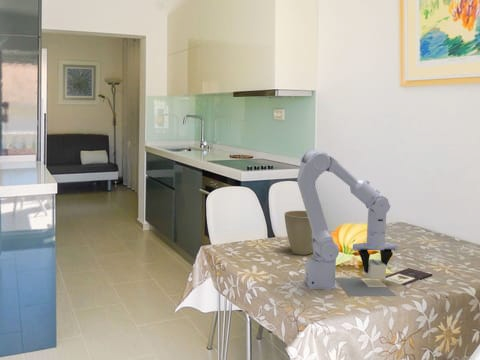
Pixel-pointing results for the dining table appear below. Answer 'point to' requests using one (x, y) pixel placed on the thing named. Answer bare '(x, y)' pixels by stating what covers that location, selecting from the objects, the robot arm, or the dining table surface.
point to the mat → (364, 287)
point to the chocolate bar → (407, 276)
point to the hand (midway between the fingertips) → (374, 271)
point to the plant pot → (299, 232)
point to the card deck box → (376, 269)
